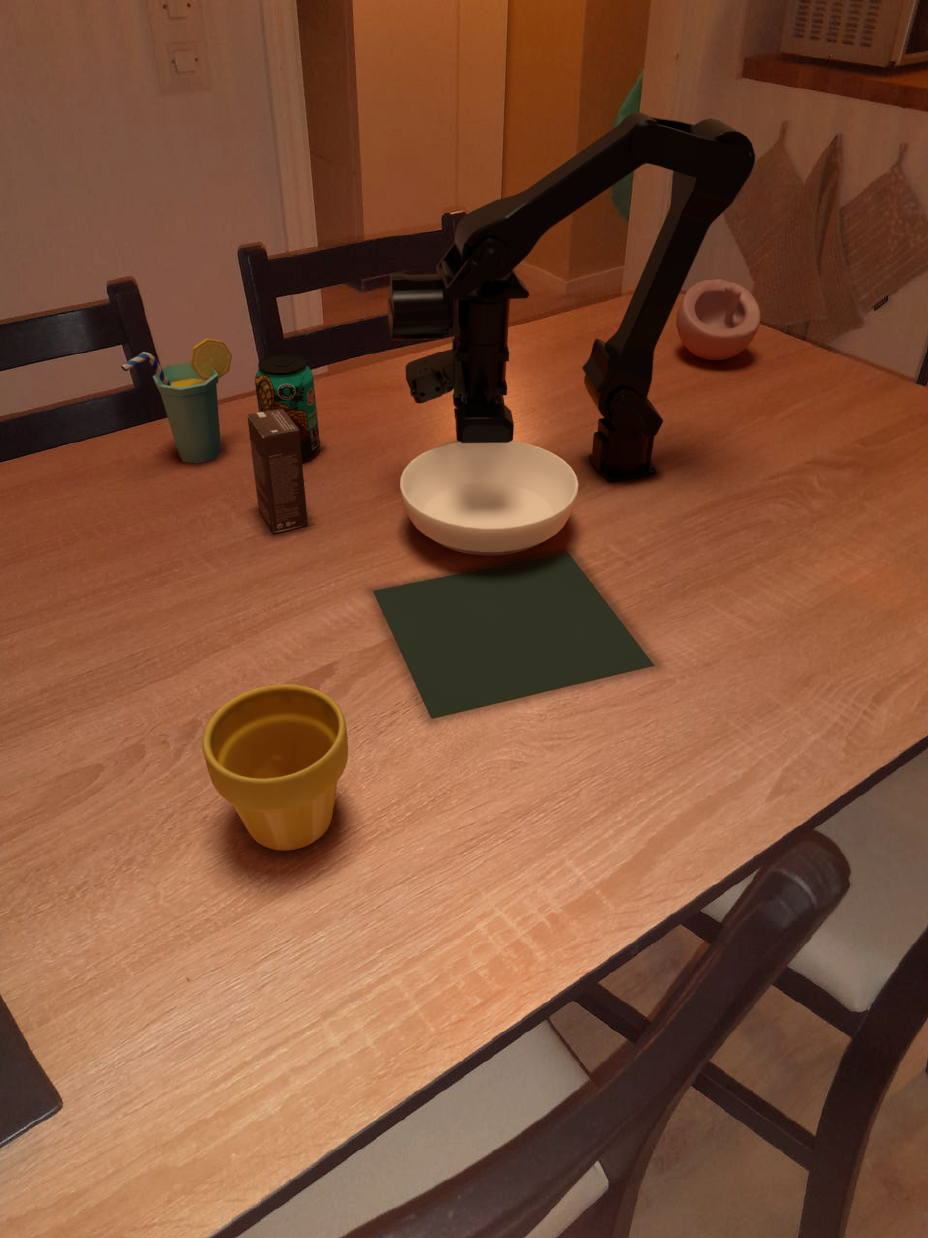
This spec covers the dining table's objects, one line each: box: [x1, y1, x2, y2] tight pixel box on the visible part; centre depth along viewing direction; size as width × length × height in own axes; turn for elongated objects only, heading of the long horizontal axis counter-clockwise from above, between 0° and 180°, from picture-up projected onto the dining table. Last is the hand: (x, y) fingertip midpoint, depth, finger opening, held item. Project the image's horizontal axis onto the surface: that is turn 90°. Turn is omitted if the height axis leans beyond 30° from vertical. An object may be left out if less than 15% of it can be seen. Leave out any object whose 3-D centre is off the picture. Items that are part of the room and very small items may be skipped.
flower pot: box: [202, 683, 349, 852], centre depth 73 cm, size 10×10×10 cm
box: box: [247, 409, 309, 534], centre depth 107 cm, size 6×4×12 cm
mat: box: [372, 551, 655, 720], centre depth 95 cm, size 22×20×1 cm
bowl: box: [399, 440, 580, 557], centre depth 107 cm, size 20×20×6 cm
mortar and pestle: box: [675, 278, 762, 361], centre depth 143 cm, size 12×12×11 cm
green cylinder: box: [254, 352, 321, 462], centre depth 119 cm, size 7×7×12 cm
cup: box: [120, 337, 233, 465], centre depth 118 cm, size 14×8×15 cm, turn 139°
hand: (477, 458), depth 117 cm, fingers closed
